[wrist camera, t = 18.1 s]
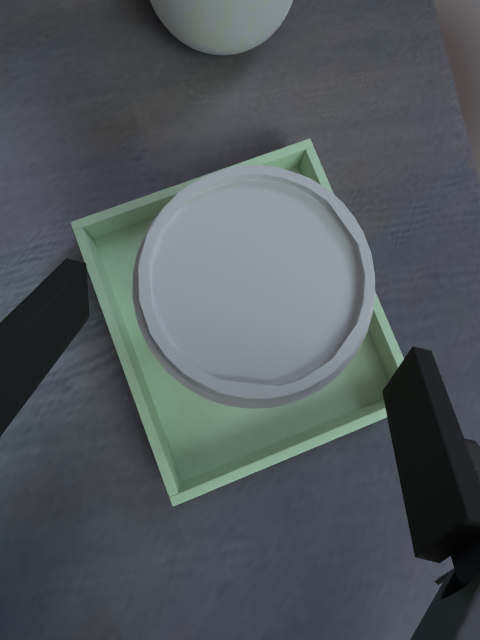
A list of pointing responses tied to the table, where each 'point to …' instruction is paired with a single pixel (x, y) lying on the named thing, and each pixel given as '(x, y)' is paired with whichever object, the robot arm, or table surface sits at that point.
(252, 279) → the disposable coffee cup
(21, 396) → the robot arm
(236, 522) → the table surface
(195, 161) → the table surface
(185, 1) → the teacup
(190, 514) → the table surface
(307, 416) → the tray
